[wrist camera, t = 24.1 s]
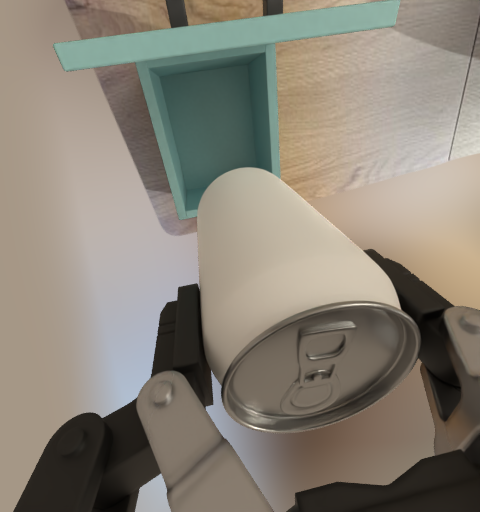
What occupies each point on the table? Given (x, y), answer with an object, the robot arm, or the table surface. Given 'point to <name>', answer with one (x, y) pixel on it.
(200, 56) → the teal open box
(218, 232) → the can
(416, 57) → the table surface
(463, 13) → the table surface
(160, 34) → the lid
